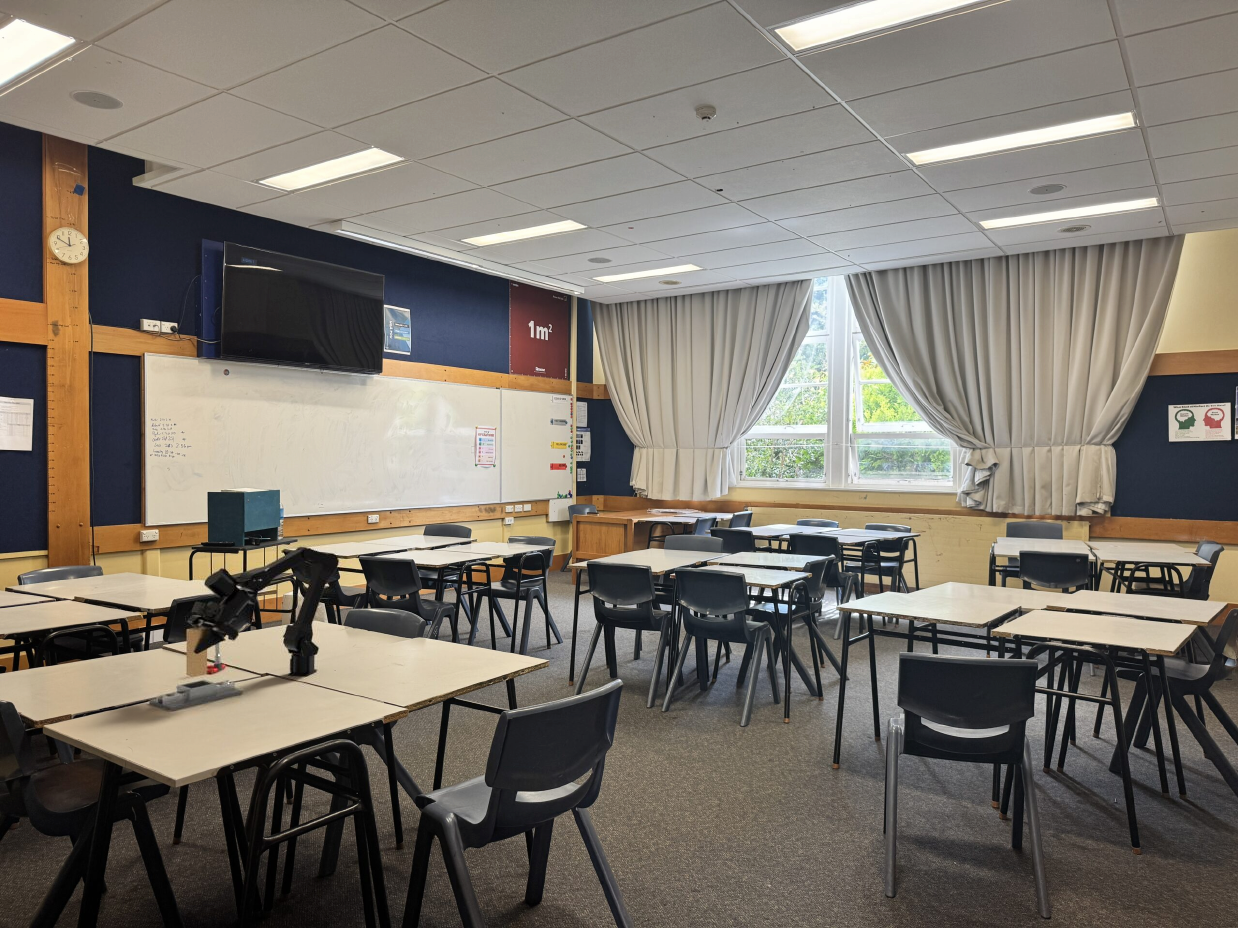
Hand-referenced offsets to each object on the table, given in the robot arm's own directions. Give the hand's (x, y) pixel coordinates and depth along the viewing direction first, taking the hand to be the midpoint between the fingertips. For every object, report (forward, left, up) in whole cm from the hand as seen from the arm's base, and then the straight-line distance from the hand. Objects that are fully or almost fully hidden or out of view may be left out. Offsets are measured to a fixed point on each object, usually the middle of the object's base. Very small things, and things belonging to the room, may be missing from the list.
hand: (192, 652), depth 223 cm
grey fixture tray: (-1, -1, -13) cm, 13 cm away
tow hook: (+16, -29, -14) cm, 36 cm away
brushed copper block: (-1, -1, -7) cm, 7 cm away
